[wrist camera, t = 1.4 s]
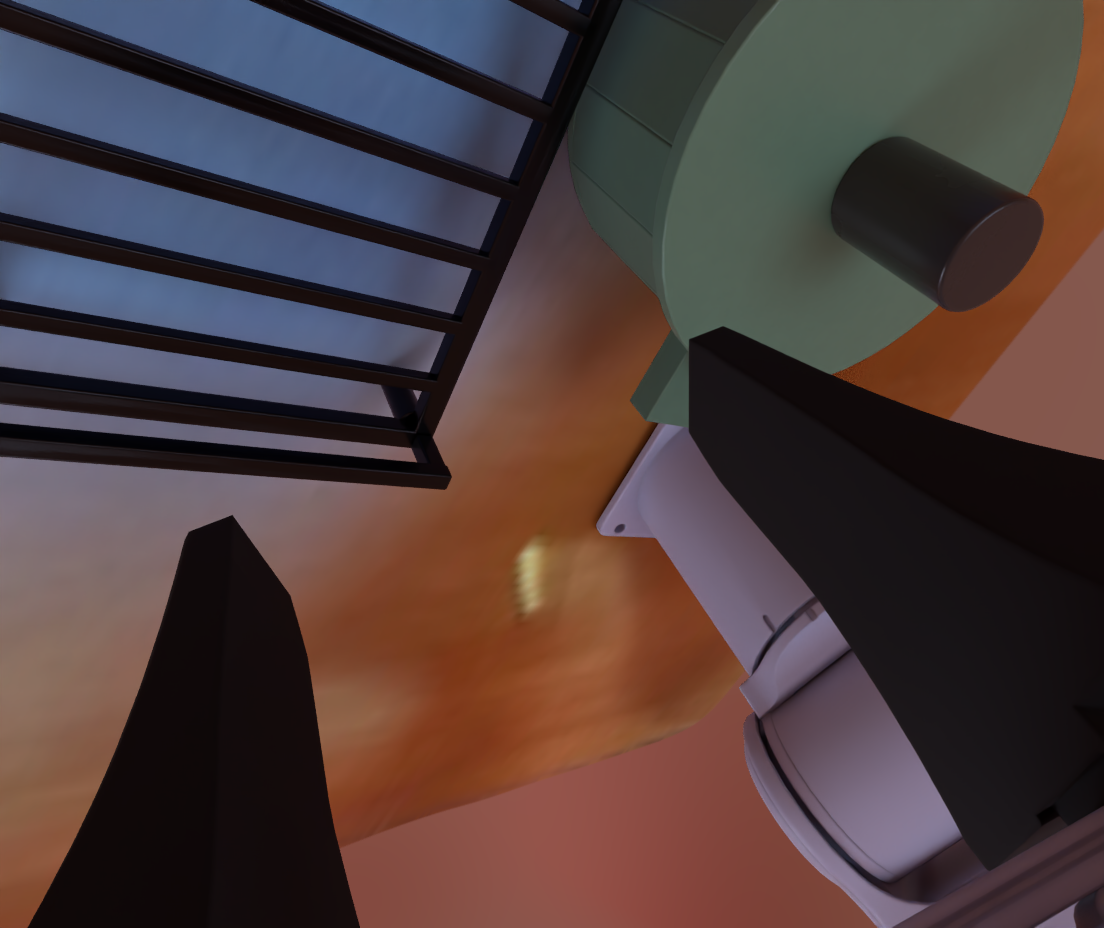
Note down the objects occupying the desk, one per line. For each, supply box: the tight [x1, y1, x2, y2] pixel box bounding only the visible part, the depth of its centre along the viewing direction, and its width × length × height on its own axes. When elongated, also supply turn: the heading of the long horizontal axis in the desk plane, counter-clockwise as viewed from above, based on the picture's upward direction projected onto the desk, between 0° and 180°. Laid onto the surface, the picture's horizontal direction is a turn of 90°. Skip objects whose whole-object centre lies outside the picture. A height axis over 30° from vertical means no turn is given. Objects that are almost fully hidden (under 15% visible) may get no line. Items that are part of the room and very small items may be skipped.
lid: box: [653, 0, 1084, 375], centre depth 16 cm, size 11×11×4 cm
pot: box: [568, 0, 758, 428], centre depth 19 cm, size 10×15×5 cm, turn 153°
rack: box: [0, 0, 623, 490], centre depth 14 cm, size 11×15×4 cm
